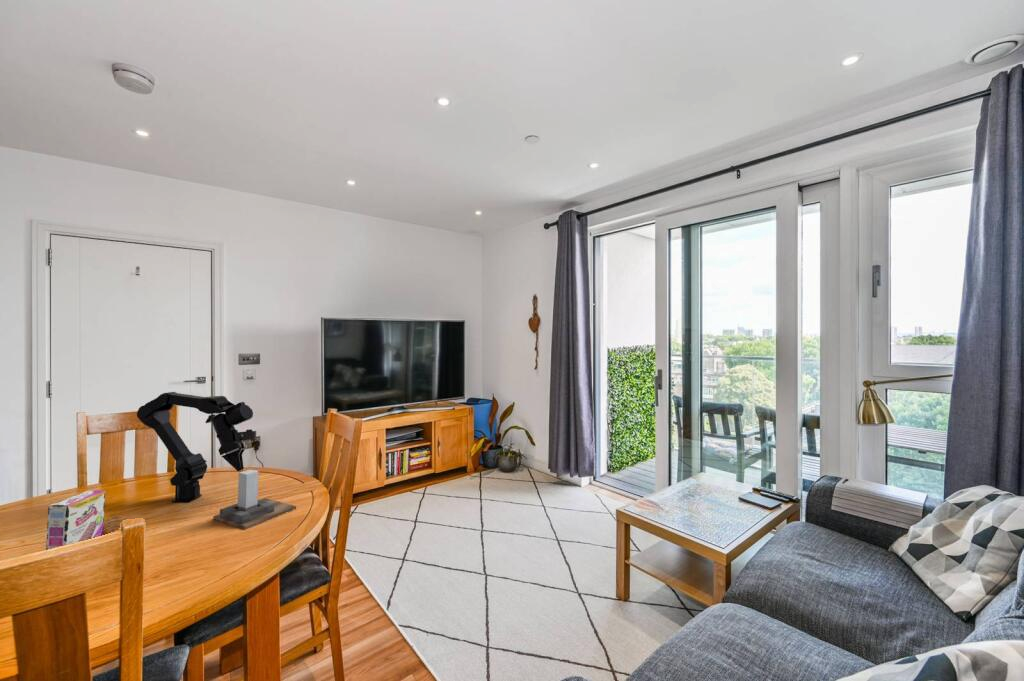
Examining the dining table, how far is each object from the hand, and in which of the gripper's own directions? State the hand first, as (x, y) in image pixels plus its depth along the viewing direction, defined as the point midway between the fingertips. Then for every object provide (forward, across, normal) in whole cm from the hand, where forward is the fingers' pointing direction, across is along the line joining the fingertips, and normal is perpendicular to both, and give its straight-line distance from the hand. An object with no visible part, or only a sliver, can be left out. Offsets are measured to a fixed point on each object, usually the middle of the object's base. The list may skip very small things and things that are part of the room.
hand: (240, 470), depth 152 cm
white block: (+14, -12, +2) cm, 18 cm away
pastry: (+3, -8, +34) cm, 35 cm away
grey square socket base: (+16, -9, 0) cm, 18 cm away
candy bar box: (+5, -24, +38) cm, 45 cm away
